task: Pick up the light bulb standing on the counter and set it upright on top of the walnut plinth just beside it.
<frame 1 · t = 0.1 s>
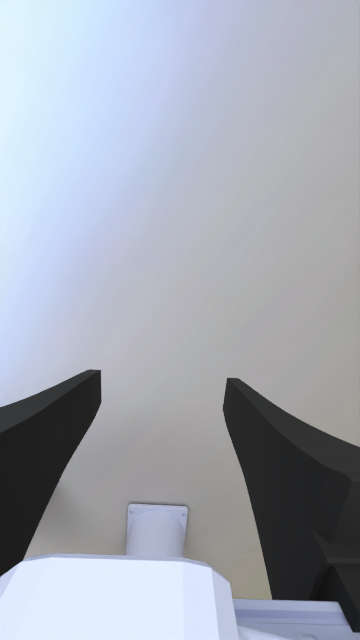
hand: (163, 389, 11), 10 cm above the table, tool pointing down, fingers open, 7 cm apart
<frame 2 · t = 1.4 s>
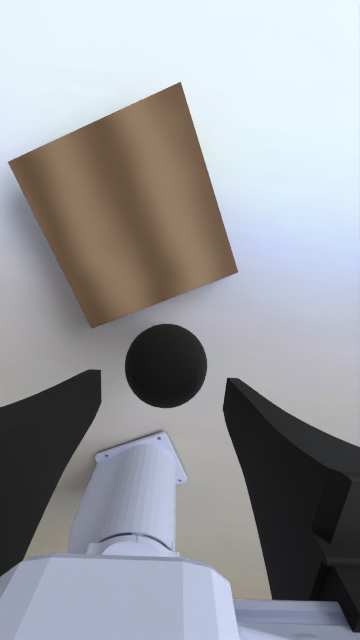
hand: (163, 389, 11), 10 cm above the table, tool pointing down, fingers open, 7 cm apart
walnut plinth: (137, 229, 19), on the table
light bulb: (170, 334, 21), on the table
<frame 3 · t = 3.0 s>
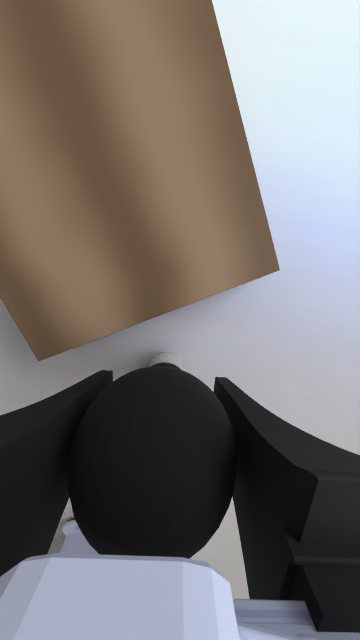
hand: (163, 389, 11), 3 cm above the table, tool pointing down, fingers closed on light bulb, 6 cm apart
walnut plinth: (115, 202, 12), on the table
light bulb: (166, 361, 14), on the table, touching gripper
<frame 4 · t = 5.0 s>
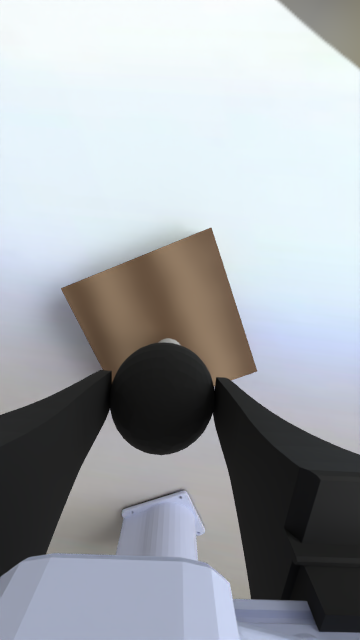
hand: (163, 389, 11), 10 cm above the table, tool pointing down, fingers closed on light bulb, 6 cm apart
walnut plinth: (166, 324, 21), on the table
light bulb: (168, 346, 18), point 3 cm above the table, touching gripper
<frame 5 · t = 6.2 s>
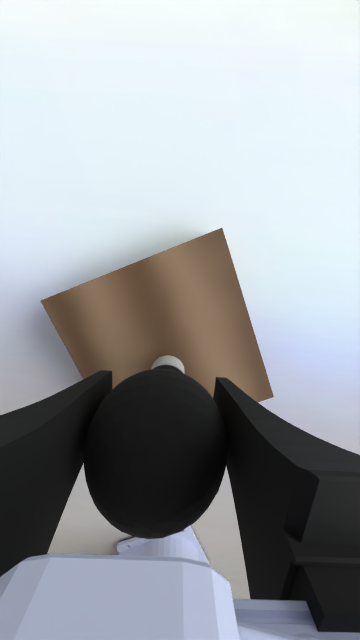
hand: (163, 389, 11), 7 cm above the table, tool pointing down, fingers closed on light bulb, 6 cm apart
walnut plinth: (167, 339, 18), on the table
light bulb: (168, 363, 16), point 3 cm above the table, touching gripper, walnut plinth
when the fingers open (7 cm above the table, at t = 7.1 s): light bulb stays where it is, resting on walnut plinth.
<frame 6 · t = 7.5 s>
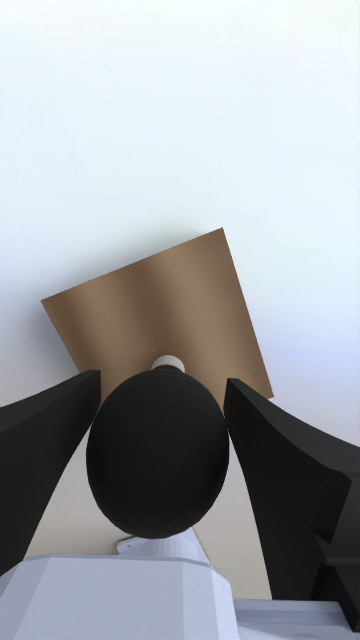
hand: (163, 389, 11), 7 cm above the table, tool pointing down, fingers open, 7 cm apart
walnut plinth: (167, 339, 18), on the table
light bulb: (168, 363, 15), point 3 cm above the table, touching walnut plinth
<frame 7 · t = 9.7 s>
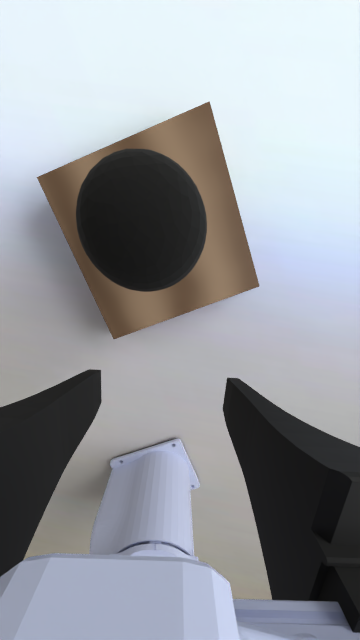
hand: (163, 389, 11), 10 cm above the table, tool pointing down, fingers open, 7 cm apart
walnut plinth: (158, 241, 19), on the table
light bulb: (159, 249, 16), point 3 cm above the table, touching walnut plinth
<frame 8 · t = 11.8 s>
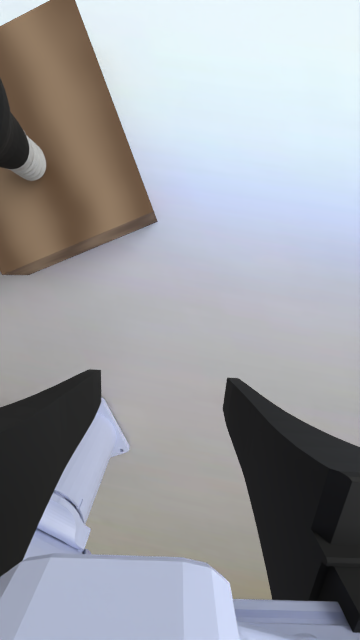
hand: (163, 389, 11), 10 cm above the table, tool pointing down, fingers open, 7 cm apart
walnut plinth: (56, 172, 17), on the table
light bulb: (39, 169, 15), point 3 cm above the table, touching walnut plinth
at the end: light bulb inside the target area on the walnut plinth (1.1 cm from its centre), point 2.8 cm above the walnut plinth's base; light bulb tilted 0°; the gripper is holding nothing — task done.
